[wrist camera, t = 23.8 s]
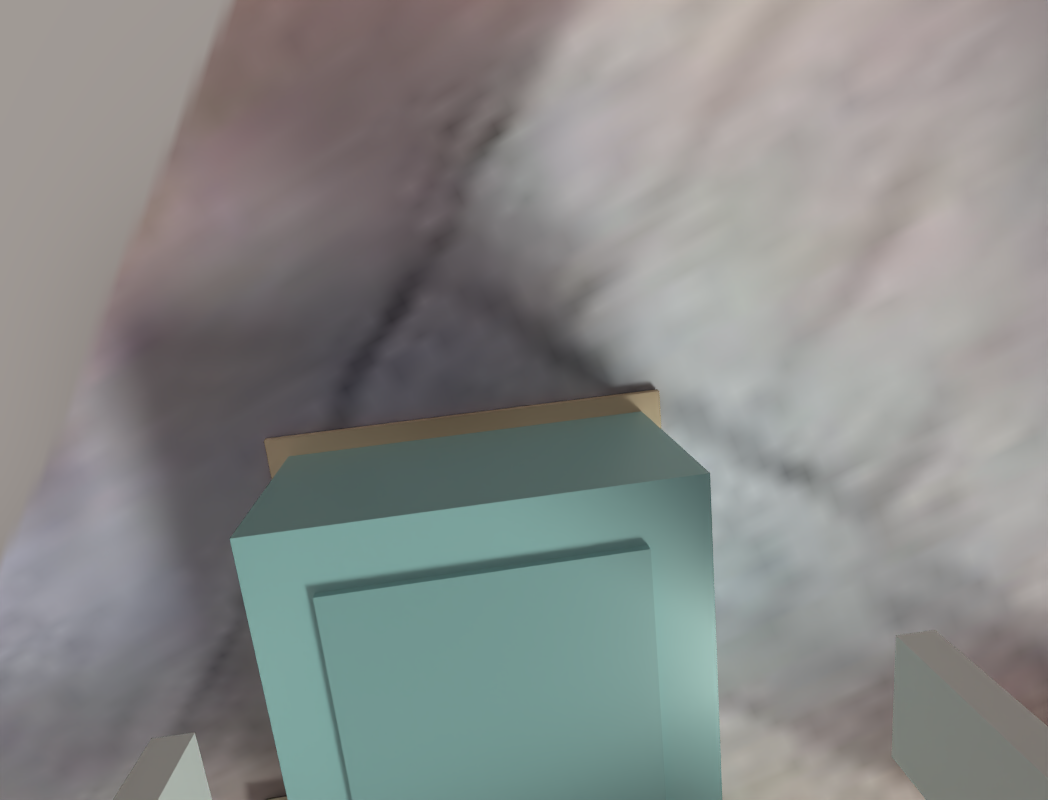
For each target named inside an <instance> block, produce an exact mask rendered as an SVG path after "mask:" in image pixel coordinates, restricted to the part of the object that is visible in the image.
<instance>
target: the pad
mask: <svg viewBox="0 0 1048 800" xmlns="http://www.w3.org/2000/svg"><path fill="white" fill-rule="evenodd" d="M640 411H642V412H643V413H644V414H645V415H646V416H647V417H648V418H650V419H651V420H652V421H653V422H654V423H655V424H656V425H657V426H658V427H659V428H661V415H660V397H659V391H658V390H657V389H656V390H648V391H640V392H632V393H624V394H617V395H609V396H601V397H593V398H585V399H577V400H569V401H561V402H553V403H545V404H537V405H529V406H521V407H513V408H505V409H497V410H489V411H481V412H473V413H465V414H457V415H449V416H441V417H433V418H426V419H418V420H410V421H402V422H394V423H386V424H378V425H370V426H362V427H354V428H346V429H338V430H330V431H322V432H314V433H306V434H298V435H290V436H282V437H274V438H266V439H265V440H264V444H265V448H266V453H267V458H268V463H269V468H270V473H271V478H272V479H273V477H274V476H275V475H276V473H277V472H278V470H279V469H280V468H281V466H282V465H283V463H284V462H285V461H286V459H287V458H288V457H289V456H296V455H304V454H312V453H320V452H328V451H335V450H343V449H351V448H359V447H367V446H375V445H382V444H390V443H398V442H406V441H414V440H421V439H429V438H437V437H445V436H453V435H460V434H468V433H476V432H484V431H492V430H499V429H507V428H515V427H523V426H531V425H538V424H546V423H554V422H562V421H570V420H578V419H585V418H593V417H601V416H609V415H617V414H624V413H632V412H640Z"/></svg>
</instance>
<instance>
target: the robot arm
mask: <svg viewBox="0 0 1048 800" xmlns="http://www.w3.org/2000/svg"><path fill="white" fill-rule="evenodd" d="M892 758H893V759H894V760H895V762H896V763H897V764H898V765H899V767H900V768H901V769H902V770H903V771H904V773H905V774H906V775H907V776H908V778H909V779H910V780H911V781H912V783H913V784H914V785H915V786H916V788H917V789H918V790H919V791H920V793H921V794H922V795H923V796H924V798H925V799H926V800H1048V726H1046V725H1045V724H1044V723H1043V722H1042V721H1041V720H1039V719H1038V718H1037V717H1036V716H1035V715H1034V714H1032V713H1031V712H1030V711H1029V710H1028V709H1027V708H1025V707H1024V706H1023V705H1022V704H1021V703H1020V702H1018V701H1017V700H1016V699H1015V698H1014V697H1013V696H1011V695H1010V694H1009V693H1008V692H1007V691H1006V690H1004V689H1003V688H1002V687H1001V686H1000V685H998V684H997V683H996V682H995V681H994V680H993V679H991V678H990V677H989V676H988V675H987V674H986V673H984V672H983V671H982V670H981V669H980V668H979V667H977V666H976V665H975V664H974V663H973V662H972V661H970V660H969V659H968V658H967V657H966V656H965V655H963V654H962V653H961V652H960V651H959V650H958V649H956V648H955V647H954V646H953V645H952V644H951V643H949V642H948V641H947V640H946V639H945V638H944V637H942V636H941V635H940V634H939V633H938V632H937V631H935V630H931V631H924V632H916V633H909V634H902V635H896V650H895V678H894V706H893V734H892ZM113 800H212V798H211V794H210V790H209V786H208V782H207V778H206V774H205V770H204V766H203V762H202V759H201V755H200V751H199V747H198V743H197V739H196V735H195V732H194V733H187V734H180V735H173V736H165V737H158V738H151V740H150V742H149V743H148V745H147V746H146V748H145V750H144V751H143V753H142V754H141V756H140V758H139V759H138V761H137V762H136V764H135V766H134V767H133V769H132V771H131V772H130V774H129V775H128V777H127V779H126V780H125V782H124V783H123V785H122V787H121V788H120V790H119V791H118V793H117V795H116V796H115V798H114V799H113Z"/></svg>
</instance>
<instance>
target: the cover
mask: <svg viewBox="0 0 1048 800" xmlns="http://www.w3.org/2000/svg"><path fill="white" fill-rule="evenodd" d="M230 543H231V547H232V552H233V556H234V561H235V565H236V570H237V574H238V579H239V583H240V588H241V592H242V597H243V601H244V606H245V610H246V615H247V619H248V624H249V628H250V633H251V637H252V642H253V646H254V651H255V655H256V660H257V664H258V669H259V673H260V677H261V682H262V686H263V691H264V695H265V700H266V704H267V709H268V713H269V718H270V722H271V727H272V731H273V736H274V740H275V745H276V749H277V754H278V758H279V763H280V767H281V772H282V776H283V781H284V785H285V790H286V794H287V799H288V800H722V780H721V753H720V727H719V700H718V674H717V647H716V621H715V594H714V568H713V541H712V515H711V488H710V473H709V472H708V471H707V470H706V469H705V468H704V467H703V466H702V465H700V464H699V463H698V462H697V461H696V460H695V459H694V458H693V457H692V456H690V455H689V454H688V453H687V452H686V451H685V450H684V449H683V448H682V447H681V446H679V445H678V444H677V443H676V442H675V441H674V440H673V439H672V438H671V437H669V436H668V435H667V434H666V433H665V432H664V431H663V430H662V429H661V428H659V427H658V426H657V425H656V424H655V423H654V422H653V421H652V420H651V419H650V418H648V417H647V416H646V415H645V414H644V413H643V412H642V411H640V412H632V413H624V414H617V415H609V416H601V417H593V418H585V419H578V420H570V421H562V422H554V423H546V424H538V425H531V426H523V427H515V428H507V429H499V430H492V431H484V432H476V433H468V434H460V435H453V436H445V437H437V438H429V439H421V440H414V441H406V442H398V443H390V444H382V445H375V446H367V447H359V448H351V449H343V450H335V451H328V452H320V453H312V454H304V455H296V456H289V457H288V458H287V459H286V461H285V462H284V463H283V465H282V466H281V468H280V469H279V470H278V472H277V473H276V475H275V476H274V477H273V479H272V480H271V482H270V483H269V484H268V486H267V487H266V489H265V490H264V491H263V493H262V494H261V496H260V497H259V498H258V500H257V501H256V503H255V504H254V505H253V507H252V508H251V510H250V511H249V512H248V514H247V515H246V517H245V518H244V519H243V521H242V522H241V524H240V525H239V526H238V528H237V529H236V531H235V532H234V533H233V535H232V536H231V538H230Z"/></svg>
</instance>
